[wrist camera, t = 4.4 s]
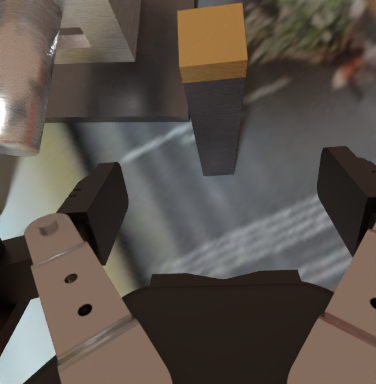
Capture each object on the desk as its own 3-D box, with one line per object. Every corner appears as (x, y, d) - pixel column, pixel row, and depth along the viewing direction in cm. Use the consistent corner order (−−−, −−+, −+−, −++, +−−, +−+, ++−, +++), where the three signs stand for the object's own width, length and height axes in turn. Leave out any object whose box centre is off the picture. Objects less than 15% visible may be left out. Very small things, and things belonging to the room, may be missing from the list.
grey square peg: (203, 176, 24) (179, 67, 11) (202, 148, 25) (177, 10, 11) (233, 174, 24) (247, 60, 10) (231, 146, 24) (242, 3, 11)
